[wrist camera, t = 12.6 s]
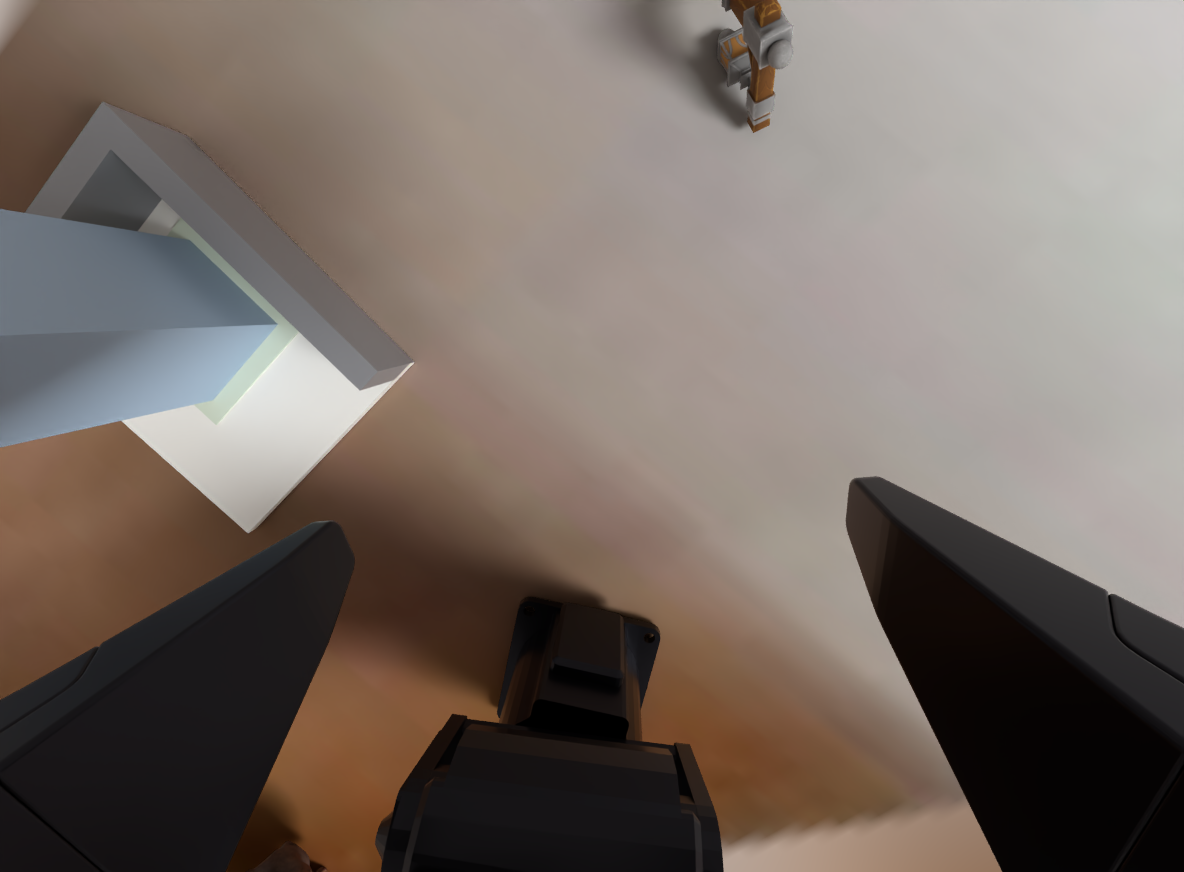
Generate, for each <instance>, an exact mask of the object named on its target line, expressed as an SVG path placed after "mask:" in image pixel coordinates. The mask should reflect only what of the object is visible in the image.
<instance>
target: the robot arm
mask: <svg viewBox="0 0 1184 872" xmlns="http://www.w3.org/2000/svg"><path fill="white" fill-rule="evenodd" d="M846 527H847V532H848V535H849V538H850V541H851V544H852V547H853V550H854V553H855V555H856V558H857V561H858V564H859V567H860V570H861V573H862V575H863V578H864V581H865V584H866V587H867V590H868V593H869V596H870V598H871V601H872V604H873V607H874V609H875V612H876V614H877V617H878V619H879V621H880V623H881V625H882V628H883V630H884V632H885V634H886V636H887V638H888V640H889V642H890V644H891V646H892V648H893V650H894V652H895V654H896V656H897V658H898V660H899V662H900V664H901V666H902V668H903V670H904V673H905V675H906V677H907V679H908V681H909V683H910V685H911V687H912V689H913V691H914V693H915V695H916V697H917V699H918V701H919V703H920V705H921V707H922V709H923V711H924V713H925V715H926V717H927V719H928V721H929V723H930V725H931V728H932V730H933V732H934V734H935V736H936V738H937V740H938V742H939V744H940V746H941V748H942V750H943V752H944V754H945V756H946V758H947V760H948V762H949V764H950V766H951V768H952V770H953V772H954V774H955V776H956V778H957V780H958V783H959V785H960V787H961V789H962V791H963V793H964V795H965V797H966V799H967V801H968V803H969V805H970V807H971V809H972V811H973V813H974V815H975V817H976V819H977V821H978V823H979V825H980V827H981V829H982V831H983V833H984V835H985V837H986V840H987V841H988V844H989V845H990V848H991V850H992V852H993V854H994V855H995V858H996V860H997V862H998V864H999V866H1000V868H1001V870H1002V872H1184V628H1182V627H1180V626H1178V625H1176V624H1174V623H1172V622H1170V621H1168V620H1166V619H1164V618H1162V617H1160V616H1157V615H1155V614H1153V613H1151V612H1149V611H1147V610H1145V609H1143V608H1141V607H1139V606H1137V605H1135V604H1133V603H1131V602H1129V601H1127V600H1125V599H1123V598H1121V597H1119V596H1117V595H1115V594H1110V595H1109V596H1108V592H1107V591H1106V590H1105V589H1103V588H1101V587H1099V586H1097V585H1095V584H1093V583H1091V582H1089V581H1087V580H1085V579H1083V578H1081V577H1079V576H1077V575H1075V574H1073V573H1071V572H1069V571H1067V570H1065V569H1063V568H1061V567H1059V566H1057V565H1055V564H1053V563H1051V562H1049V561H1047V560H1045V559H1043V558H1041V557H1039V556H1037V555H1035V554H1033V553H1031V552H1029V551H1027V550H1025V549H1023V548H1021V547H1019V546H1017V545H1015V544H1013V543H1011V542H1009V541H1007V540H1005V539H1003V538H1001V537H999V536H997V535H995V534H993V533H991V532H989V531H987V530H985V529H983V528H981V527H979V526H977V525H975V524H973V523H971V522H969V521H967V520H965V519H963V518H961V517H959V516H957V515H955V514H953V513H951V512H949V511H947V510H945V509H943V508H941V507H939V506H937V505H935V504H933V503H931V502H929V501H927V500H925V499H923V498H921V497H919V496H917V495H915V494H913V493H911V492H909V491H907V490H905V489H903V488H901V487H899V486H897V485H895V484H893V483H891V482H889V481H887V480H885V479H883V478H881V477H876V476H875V477H863V478H854V479H853V480H852V481H851V483H850V485H849V493H848V503H847V513H846ZM354 564H355V558H354V554H353V551H352V549H351V547H350V545H349V543H348V540H347V538H346V536H345V534H344V532H343V530H342V527H341V526H340V524H339V523H338V522H336V521H333V520H331V521H318V522H313V523H311V524H309V525H307V526H305V527H303V528H302V529H300V530H298V531H297V532H295V533H293V534H291V535H290V536H288V537H286V538H284V539H283V540H281V541H279V542H277V543H276V544H274V545H272V546H270V547H269V548H267V549H265V550H263V551H262V552H260V553H258V554H256V555H255V556H253V557H251V558H249V559H248V560H246V561H244V562H242V563H241V564H239V565H237V566H236V567H234V568H232V569H230V570H229V571H227V572H225V573H223V574H222V575H220V576H218V577H216V578H215V579H213V580H211V581H209V582H208V583H206V584H204V585H202V586H201V587H199V588H197V589H195V590H194V591H192V592H190V593H188V594H187V595H185V596H183V597H181V598H180V599H178V600H176V601H175V602H173V603H171V604H169V605H168V606H166V607H164V608H162V609H161V610H159V611H157V612H155V613H154V614H152V615H150V616H148V617H147V618H145V619H143V620H141V621H140V622H138V623H136V624H134V625H133V626H131V627H129V628H127V629H126V630H124V631H122V632H120V633H119V634H117V635H115V636H114V637H112V638H110V639H108V640H107V641H105V642H103V643H102V644H101V645H100V647H94V648H92V649H91V650H89V651H87V652H85V653H84V654H82V655H80V656H78V657H77V658H75V659H73V660H72V661H70V662H68V663H66V664H64V665H63V666H61V667H59V668H57V669H56V670H54V671H52V672H50V673H48V674H47V675H45V676H43V677H41V678H39V679H38V680H36V681H34V682H32V683H31V684H29V685H27V686H25V687H23V688H21V689H20V690H18V691H16V692H14V693H12V694H10V695H8V696H7V697H5V698H3V699H1V700H0V872H226V869H227V867H228V865H229V863H230V861H231V858H232V856H233V854H234V852H235V849H236V847H237V845H238V843H239V841H240V838H241V836H242V834H243V832H244V830H245V827H246V825H247V823H248V821H249V818H250V816H251V814H252V812H253V810H254V807H255V805H256V803H257V801H258V798H259V796H260V794H261V792H262V790H263V787H264V785H265V783H266V781H267V779H268V776H269V774H270V772H271V770H272V767H273V765H274V763H275V761H276V759H277V756H278V754H279V752H280V750H281V748H282V745H283V743H284V741H285V739H286V736H287V734H288V732H289V730H290V728H291V725H292V723H293V721H294V719H295V716H296V714H297V712H298V710H299V708H300V705H301V703H302V701H303V699H304V697H305V694H306V692H307V690H308V688H309V685H310V683H311V681H312V679H313V677H314V674H315V672H316V670H317V668H318V666H319V663H320V661H321V659H322V657H323V654H324V652H325V650H326V647H327V645H328V643H329V640H330V637H331V634H332V632H333V629H334V626H335V623H336V620H337V617H338V614H339V611H340V608H341V605H342V602H343V599H344V596H345V593H346V590H347V587H348V584H349V581H350V578H351V575H352V572H353V569H354ZM527 606H531V607H533V608H534V609H535V610H534V611H531V612H530V611H528V610H527V609H526V608H525V607H527ZM647 633H651V634H653V635H654V636H653V637H651V638H647V637H645V636H644V635H645V634H647ZM659 643H660V631H659V629H658V627H657V626H656V625H654V624H652V623H648V622H643V621H639V620H634V619H630V618H625V617H622V616H621V615H620V614H618V613H613V612H609V611H604V610H600V609H595V608H591V607H586V606H582V605H578V604H573V603H566V604H563V603H558V602H554V601H549V600H545V599H540V598H536V597H526V598H524V599H523V600H522V601H521V603H520V606H519V609H518V614H517V618H516V623H515V628H514V633H513V638H512V642H511V647H510V652H509V657H508V662H507V667H506V671H505V676H504V681H503V686H502V691H501V696H500V700H499V705H498V710H497V715H498V717H499V718H500V720H499V723H494V722H487V721H479V720H471V719H467V716H464V715H457V714H452V715H451V717H450V718H449V720H448V721H447V723H446V724H445V725H444V727H443V728H442V730H440V731H439V732H438V734H437V735H436V737H435V738H434V740H433V741H432V743H431V744H430V745H429V747H428V748H427V750H426V751H425V753H424V754H423V756H422V757H421V759H420V760H419V762H418V763H417V765H416V766H415V768H414V769H413V770H412V772H411V773H410V775H409V776H408V778H407V779H406V781H405V782H404V784H403V785H402V787H401V788H400V790H399V793H398V795H397V799H396V803H395V807H394V811H393V812H391V813H390V814H389V815H388V816H387V817H385V818H384V819H383V820H382V822H381V824H380V826H379V828H378V832H377V835H376V841H375V845H376V847H377V850H378V852H379V854H380V857H381V859H382V868H381V872H723V857H722V847H721V839H720V831H719V826H718V821H717V816H716V813H715V810H714V806H713V804H712V801H711V799H710V796H709V793H708V791H707V788H706V786H705V783H704V780H703V778H702V775H701V772H700V770H699V767H698V765H697V762H696V759H695V757H694V754H693V752H692V749H691V746H690V744H683V743H674V746H673V745H666V744H658V743H650V742H642V729H641V711H640V710H641V707H642V703H643V700H644V696H645V693H646V689H647V685H648V682H649V678H650V675H651V671H652V668H653V664H654V661H655V657H656V653H657V650H658V646H659Z"/></svg>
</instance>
